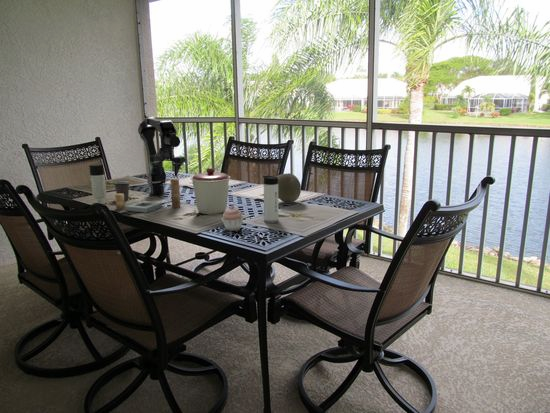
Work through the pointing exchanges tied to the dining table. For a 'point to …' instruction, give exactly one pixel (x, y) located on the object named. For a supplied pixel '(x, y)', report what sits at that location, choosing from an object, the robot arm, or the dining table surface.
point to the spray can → (98, 183)
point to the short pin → (120, 201)
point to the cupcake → (232, 218)
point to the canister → (211, 191)
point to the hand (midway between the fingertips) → (168, 175)
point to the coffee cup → (122, 188)
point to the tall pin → (175, 193)
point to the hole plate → (143, 206)
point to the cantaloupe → (288, 187)
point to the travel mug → (270, 199)
